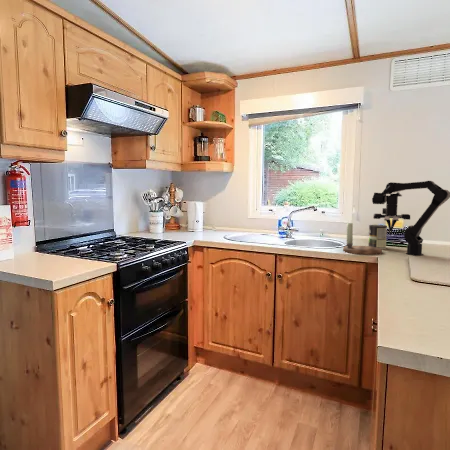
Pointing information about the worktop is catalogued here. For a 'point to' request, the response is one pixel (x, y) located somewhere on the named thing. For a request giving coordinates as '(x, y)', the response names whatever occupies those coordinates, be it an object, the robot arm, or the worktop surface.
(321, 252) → the worktop surface
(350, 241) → the folding leg
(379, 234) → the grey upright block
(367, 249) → the stool seat
